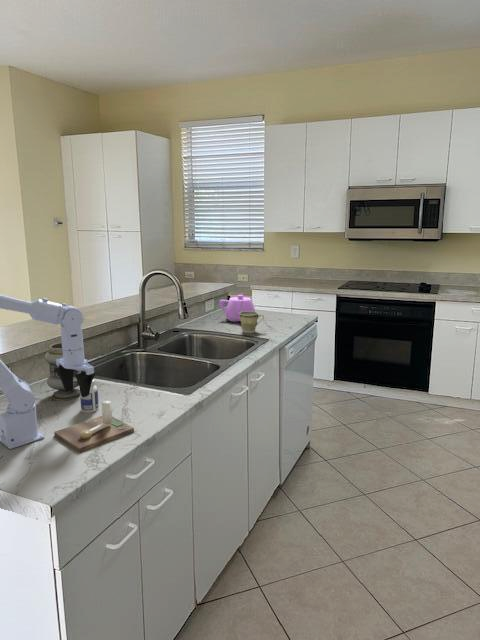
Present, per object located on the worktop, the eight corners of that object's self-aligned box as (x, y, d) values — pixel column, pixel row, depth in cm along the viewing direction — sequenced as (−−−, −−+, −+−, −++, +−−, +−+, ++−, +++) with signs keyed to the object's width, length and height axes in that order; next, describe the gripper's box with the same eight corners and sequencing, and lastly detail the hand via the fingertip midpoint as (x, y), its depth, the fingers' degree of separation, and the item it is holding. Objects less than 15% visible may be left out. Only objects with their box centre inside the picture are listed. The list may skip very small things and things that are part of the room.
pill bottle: (92, 405, 157) (90, 376, 155) (102, 409, 154) (100, 380, 152) (77, 410, 153) (75, 381, 151) (87, 414, 150) (85, 384, 148)
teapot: (218, 317, 290) (218, 292, 287) (253, 317, 292) (253, 292, 288) (220, 326, 268) (220, 299, 265) (257, 325, 270) (258, 299, 266)
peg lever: (85, 439, 130) (83, 415, 129) (77, 437, 132) (76, 412, 130) (114, 425, 139) (113, 402, 138) (107, 422, 141) (106, 399, 139)
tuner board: (79, 452, 126) (79, 447, 126) (54, 435, 136) (54, 431, 135) (134, 431, 138) (133, 427, 138) (107, 417, 148) (107, 413, 147)
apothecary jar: (51, 390, 170) (47, 340, 166) (86, 387, 173) (83, 339, 169) (45, 403, 159) (40, 350, 155) (83, 400, 161) (79, 348, 157)
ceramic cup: (238, 333, 251) (238, 314, 249) (240, 329, 261) (240, 311, 259) (263, 334, 250) (263, 315, 248) (264, 329, 260) (264, 311, 257)
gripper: (101, 348, 135) (104, 394, 138) (69, 341, 143) (73, 384, 146) (80, 355, 130) (84, 402, 133) (48, 346, 138) (52, 391, 141)
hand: (77, 393), depth 139 cm, fingers open, 7 cm apart
